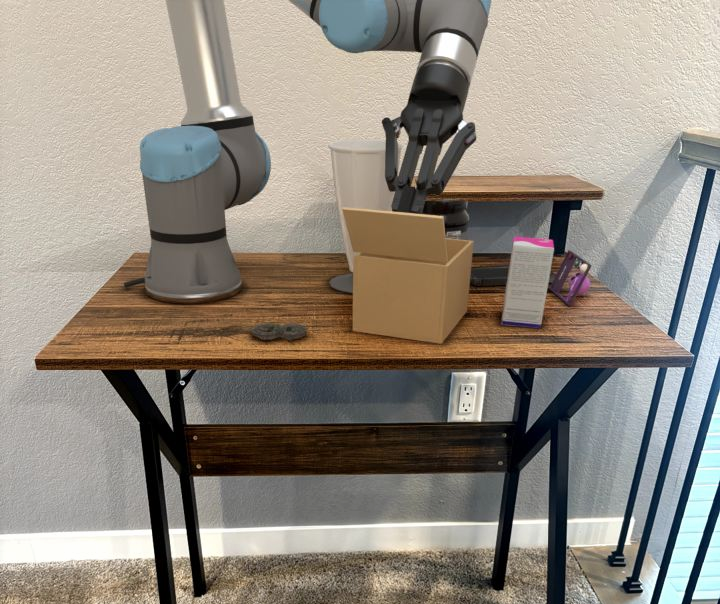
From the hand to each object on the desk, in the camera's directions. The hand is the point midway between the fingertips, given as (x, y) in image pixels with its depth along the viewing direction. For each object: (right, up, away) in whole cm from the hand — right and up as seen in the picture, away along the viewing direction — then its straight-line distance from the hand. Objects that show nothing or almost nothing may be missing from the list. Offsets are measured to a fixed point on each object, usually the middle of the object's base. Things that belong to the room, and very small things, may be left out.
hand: (398, 236), depth 93 cm
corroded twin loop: (-16, -11, +7) cm, 21 cm away
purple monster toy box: (+29, -2, +25) cm, 39 cm away
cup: (-4, +2, +29) cm, 30 cm away
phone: (+21, +4, +33) cm, 39 cm away
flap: (0, 0, -1) cm, 1 cm away
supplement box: (+19, -8, +15) cm, 25 cm away
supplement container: (+9, +8, +41) cm, 42 cm away
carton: (+3, -8, +14) cm, 16 cm away
